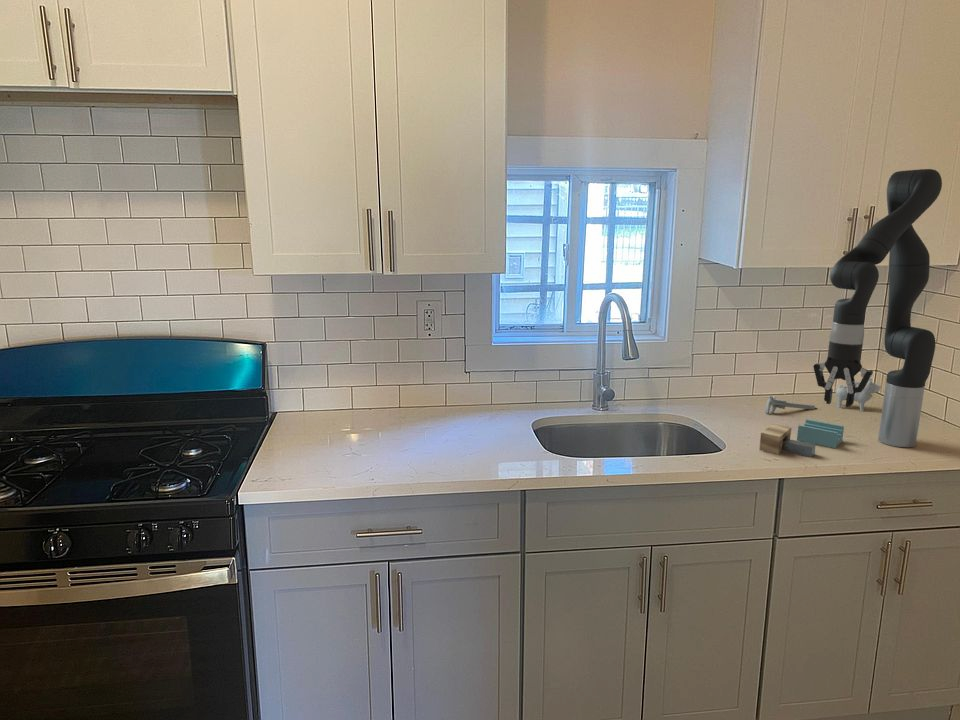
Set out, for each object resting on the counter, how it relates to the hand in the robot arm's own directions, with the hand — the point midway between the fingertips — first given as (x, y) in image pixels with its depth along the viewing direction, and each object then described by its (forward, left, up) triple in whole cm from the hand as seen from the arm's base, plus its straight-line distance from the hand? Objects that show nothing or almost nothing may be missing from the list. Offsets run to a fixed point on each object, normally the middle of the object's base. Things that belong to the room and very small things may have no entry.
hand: (838, 404), depth 173 cm
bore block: (0, -15, -15) cm, 21 cm away
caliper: (-39, -22, -16) cm, 47 cm away
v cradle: (-14, -7, -15) cm, 22 cm away
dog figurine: (-56, -7, -16) cm, 58 cm away
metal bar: (0, -11, -16) cm, 19 cm away
